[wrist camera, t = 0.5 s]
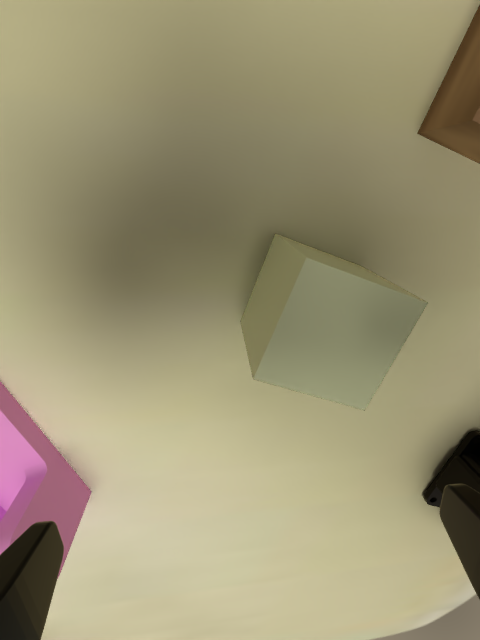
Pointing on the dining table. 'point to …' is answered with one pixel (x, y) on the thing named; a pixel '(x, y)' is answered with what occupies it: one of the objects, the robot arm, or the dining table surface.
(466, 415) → the dining table surface
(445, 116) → the walnut block
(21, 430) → the bracket
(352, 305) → the sage cube
